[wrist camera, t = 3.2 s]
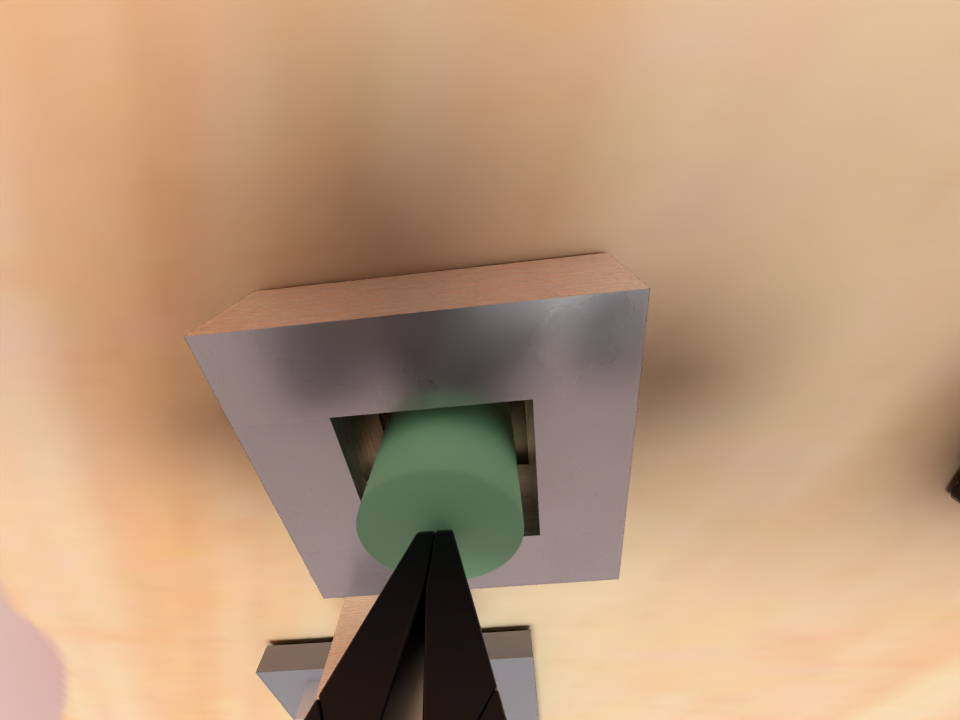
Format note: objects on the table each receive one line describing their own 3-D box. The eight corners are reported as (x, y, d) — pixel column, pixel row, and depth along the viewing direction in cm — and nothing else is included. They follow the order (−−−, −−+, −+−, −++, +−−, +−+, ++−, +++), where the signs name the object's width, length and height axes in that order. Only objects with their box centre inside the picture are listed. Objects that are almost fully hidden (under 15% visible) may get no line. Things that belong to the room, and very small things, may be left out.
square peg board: (607, 252, 11) (649, 288, 8) (595, 505, 15) (618, 579, 13) (253, 291, 11) (183, 336, 8) (349, 523, 16) (323, 598, 13)
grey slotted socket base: (530, 630, 20) (537, 695, 17) (538, 726, 26) (544, 785, 23) (267, 645, 21) (239, 710, 18) (333, 736, 26) (318, 794, 24)
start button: (507, 367, 12) (519, 463, 8) (515, 465, 14) (528, 576, 10) (377, 380, 12) (334, 478, 8) (403, 474, 14) (378, 586, 10)
